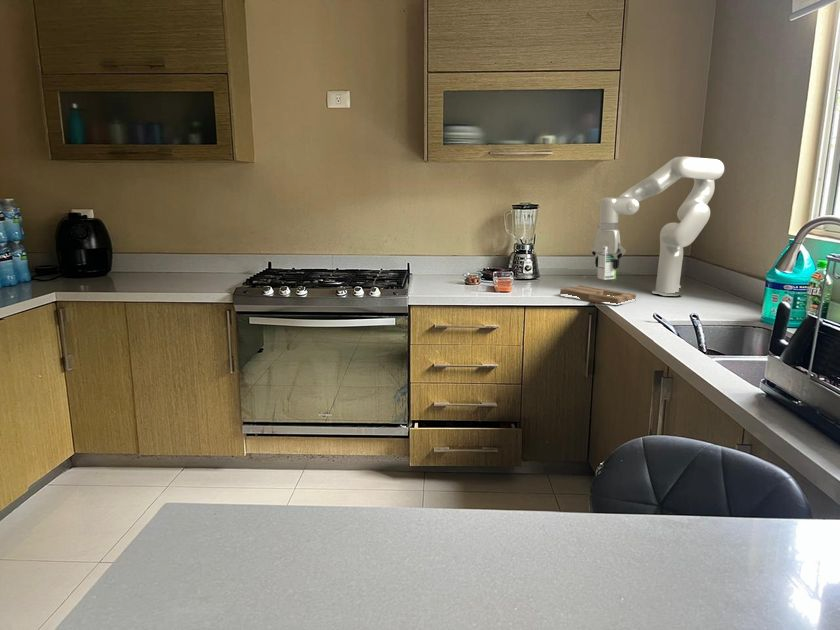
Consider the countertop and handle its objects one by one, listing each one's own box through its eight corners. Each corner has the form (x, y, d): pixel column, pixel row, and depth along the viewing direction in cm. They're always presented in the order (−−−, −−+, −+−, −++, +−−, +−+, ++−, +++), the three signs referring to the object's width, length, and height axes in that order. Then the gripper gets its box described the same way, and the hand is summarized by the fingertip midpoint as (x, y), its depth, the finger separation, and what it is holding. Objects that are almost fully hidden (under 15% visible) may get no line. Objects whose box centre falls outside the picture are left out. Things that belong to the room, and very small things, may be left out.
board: (579, 292, 273) (580, 285, 272) (635, 301, 255) (636, 294, 254) (560, 296, 261) (560, 289, 261) (616, 306, 244) (617, 299, 243)
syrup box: (604, 280, 266) (605, 246, 262) (596, 278, 271) (598, 245, 268) (615, 279, 267) (617, 245, 264) (608, 277, 273) (609, 244, 269)
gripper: (586, 226, 268) (584, 266, 271) (623, 228, 256) (621, 270, 259) (594, 225, 273) (593, 264, 277) (631, 227, 261) (629, 268, 265)
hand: (606, 267), depth 268 cm, fingers closed on syrup box, 7 cm apart
